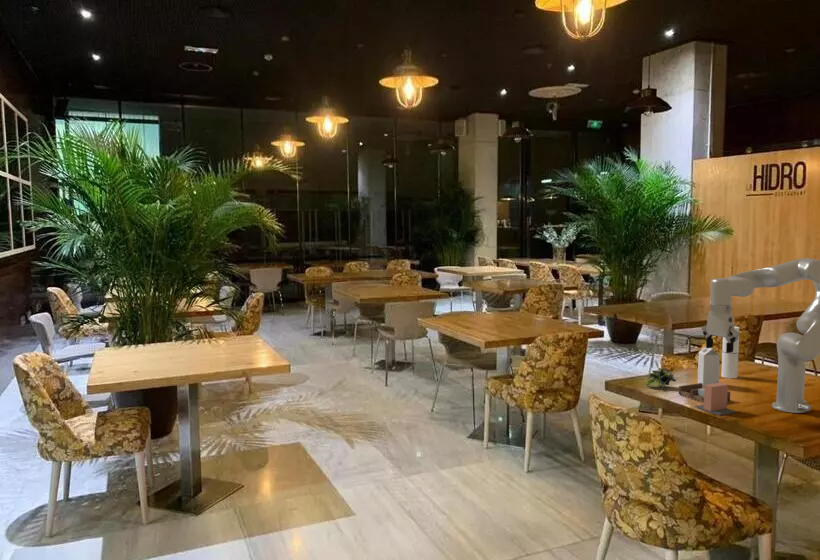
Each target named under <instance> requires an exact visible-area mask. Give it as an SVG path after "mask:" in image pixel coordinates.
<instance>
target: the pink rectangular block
mask: <svg viewBox="0 0 820 560" xmlns="http://www.w3.org/2000/svg"><path fill="white" fill-rule="evenodd" d="M728 387H729V384H727V383H723V382H719V383H715V384H708V385H705V386H704V388H705V389H704V403H703V405H704V409H706V410H709V411H715V410H721V409H728V401H727V396H728V391H729V390H728V389H729V388H728Z"/></svg>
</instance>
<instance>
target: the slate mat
mask: <svg viewBox="0 0 820 560" xmlns="http://www.w3.org/2000/svg"><path fill="white" fill-rule="evenodd" d="M694 407H695V408H696V407H697V408H696V409H699V408H700V409H699V410H702V411H704V410H705V412H707V411H708V413H711V414H713V413H714V415H716V414H717V416H719V415H720V416H725V414H726V415H730V414H729V413H732V414H736V413H737V411H736V410H733V409H729V408H727V409H721V410H715V411H709V410H706V409H704V404H699V405H695V406H694ZM735 412H736V413H735Z"/></svg>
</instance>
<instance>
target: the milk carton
mask: <svg viewBox="0 0 820 560" xmlns="http://www.w3.org/2000/svg"><path fill="white" fill-rule="evenodd" d="M720 357H721V356H720V354H719V353H718V352H717V351H715V350H714V348H706V346H704V347H703V348H702V349H701V350H700V351H698V361H697V362H698V363H697V364H698V365H697V384H698V383H702V384H703V387H705V385H708V384H715V383H720V361H721V360H720Z"/></svg>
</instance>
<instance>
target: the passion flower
mask: <svg viewBox="0 0 820 560" xmlns="http://www.w3.org/2000/svg"><path fill="white" fill-rule="evenodd" d="M671 381H672V382H675V383H676V382H677V379H675V376H674V374H673V373H672V372H670V371H669V370H668V368H665V367H661V368H660V367H659V368H658V369H655V370H654V369H652V372H649V375H648V377H647V381H646V382H645V386H646V387H647V386H648V385H649V386H651V385H653V384H655V383H657V386H658V387H661V389H663V388H664V387H665V386H666V385H667V386H669V385H670V383H671ZM649 386H648V387H649Z"/></svg>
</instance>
